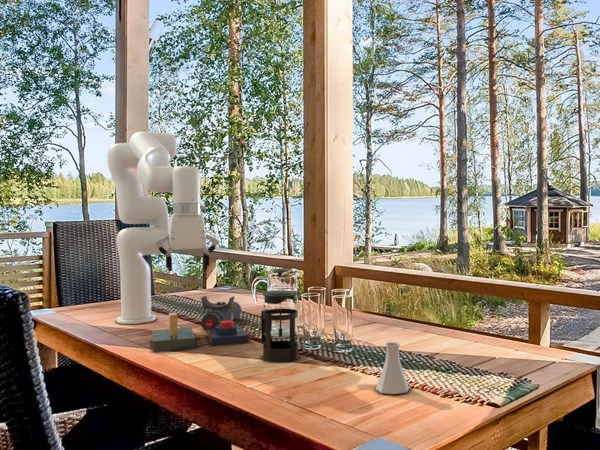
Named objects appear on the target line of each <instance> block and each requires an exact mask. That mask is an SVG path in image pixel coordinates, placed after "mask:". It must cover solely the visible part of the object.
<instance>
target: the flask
mask: <svg viewBox="0 0 600 450" xmlns="http://www.w3.org/2000/svg"><path fill="white" fill-rule="evenodd" d="M384 346H385V347H386V351H385V353H386V354H385V360H384V364H383V367H382V370H381V372H380V376H379V379H378V381H377V384H376V387H375V390H376V391H378V392H379V393H381V394H386V395H387V394H389V395H399V394H404V393H408V391H409V389H410V386H409V384H408V381H407V378H406V375H405V372H404V369H403V366H402V364H401V358H400V351H399V349H400V346H401V343H399V342H396V341H393V342H392V341H390V342H386V343H385V344H384Z"/></svg>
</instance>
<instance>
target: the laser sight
mask: <svg viewBox="0 0 600 450" xmlns="http://www.w3.org/2000/svg"><path fill="white" fill-rule="evenodd" d="M200 300H201V304H202V308H203V310H209V311H208V312H207V313H206V314H205V315H204V316H203V317H202V318H201V327H202V329H203V330H204V331H205V332H207V329H215V327H216V326H217V325H221V321H224V320H232V321H233V322H234V320H235V319H236V318H238V317H239V316H240V315H241V313H242V306H241V304H240V303H239V302H237V301H234V300H235V296H231V297H229V298H228V302H226V301H216V303H212V302H211V301H209V299H208V295H204V296H202V297H200Z"/></svg>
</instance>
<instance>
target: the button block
mask: <svg viewBox="0 0 600 450" xmlns="http://www.w3.org/2000/svg"><path fill="white" fill-rule="evenodd" d="M206 332H207V333H206V334H207V339H208V340H209V342H210V345H211V346H212V347H215V346H216V347H217V346H227V345H238V344H247V343H249V335H248V333H247V332H246V331H245V330H244V328H243V327H242V326H239V324H237V323H233V327H229V328H222V327H221V325H217V326H216V327H215V329H207V331H206Z"/></svg>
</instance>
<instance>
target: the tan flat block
mask: <svg viewBox="0 0 600 450" xmlns="http://www.w3.org/2000/svg"><path fill="white" fill-rule="evenodd" d="M178 328H179V326H178V314H177V312H176V311H175V312H168V329H169V333H170V336H178Z"/></svg>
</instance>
